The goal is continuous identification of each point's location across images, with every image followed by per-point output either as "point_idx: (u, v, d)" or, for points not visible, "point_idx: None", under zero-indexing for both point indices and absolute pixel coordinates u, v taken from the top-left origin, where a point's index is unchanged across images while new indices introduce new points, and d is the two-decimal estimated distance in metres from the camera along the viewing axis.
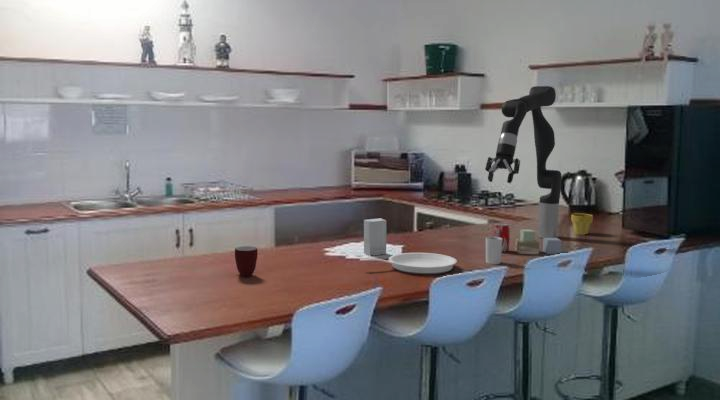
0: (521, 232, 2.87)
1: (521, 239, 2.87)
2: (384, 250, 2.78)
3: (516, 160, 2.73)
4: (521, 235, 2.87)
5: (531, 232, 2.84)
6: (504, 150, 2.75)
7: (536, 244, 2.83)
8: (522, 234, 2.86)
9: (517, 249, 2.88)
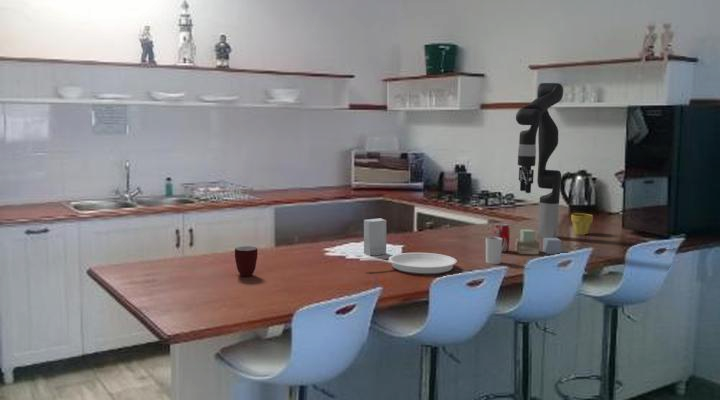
0: (521, 232, 2.87)
1: (521, 239, 2.87)
2: (384, 250, 2.78)
3: (527, 171, 2.83)
4: (521, 235, 2.87)
5: (531, 232, 2.84)
6: (519, 162, 2.87)
7: (536, 244, 2.83)
8: (522, 234, 2.86)
9: (517, 249, 2.88)
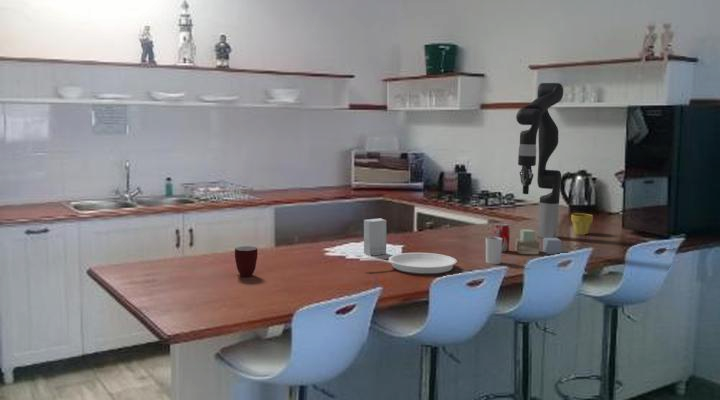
0: (521, 232, 2.87)
1: (521, 239, 2.87)
2: (384, 250, 2.78)
3: (527, 175, 2.84)
4: (521, 235, 2.87)
5: (531, 232, 2.84)
6: (519, 162, 2.87)
7: (536, 244, 2.83)
8: (522, 234, 2.86)
9: (517, 249, 2.88)
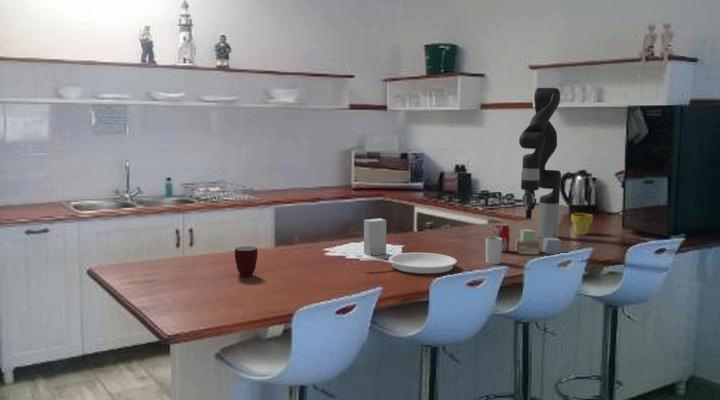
0: (521, 232, 2.87)
1: (521, 239, 2.87)
2: (384, 250, 2.78)
3: (530, 200, 2.79)
4: (521, 235, 2.87)
5: (531, 232, 2.84)
6: (522, 186, 2.83)
7: (536, 244, 2.83)
8: (522, 234, 2.86)
9: (517, 249, 2.88)
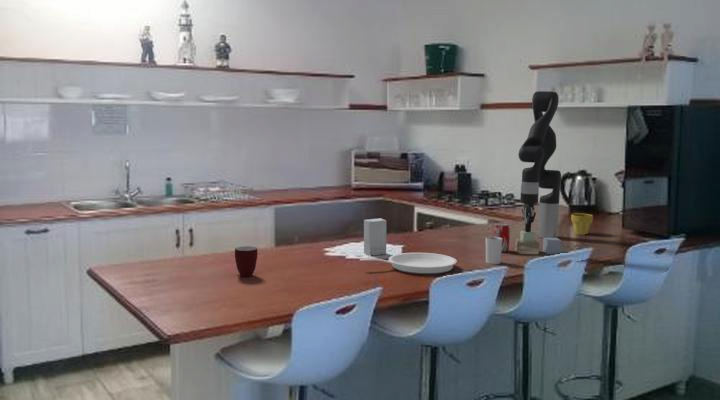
0: (521, 233, 2.87)
1: (521, 240, 2.87)
2: (384, 250, 2.78)
3: (529, 214, 2.80)
4: (521, 236, 2.87)
5: (531, 233, 2.84)
6: (522, 199, 2.83)
7: (536, 244, 2.83)
8: (522, 235, 2.86)
9: (517, 249, 2.88)
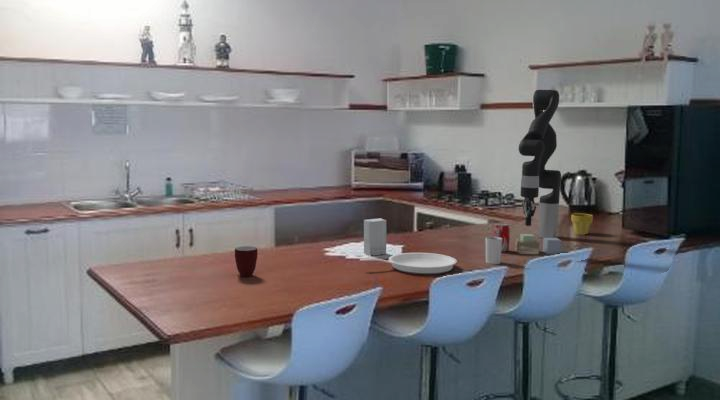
0: (521, 236, 2.88)
1: None
2: (384, 250, 2.78)
3: (529, 208, 2.80)
4: (521, 239, 2.88)
5: (531, 237, 2.84)
6: (522, 193, 2.83)
7: (536, 244, 2.83)
8: (522, 238, 2.86)
9: (517, 249, 2.88)
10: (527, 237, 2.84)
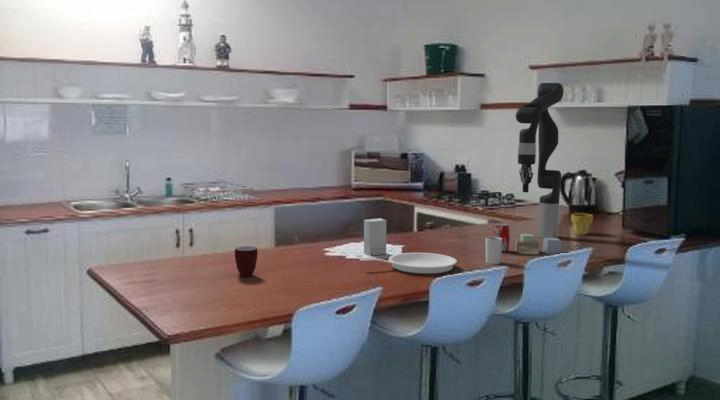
0: (521, 236, 2.88)
1: None
2: (384, 250, 2.78)
3: (527, 174, 2.85)
4: (521, 239, 2.88)
5: (531, 237, 2.84)
6: (519, 160, 2.88)
7: (536, 244, 2.83)
8: (522, 238, 2.86)
9: (517, 249, 2.88)
10: (527, 237, 2.84)
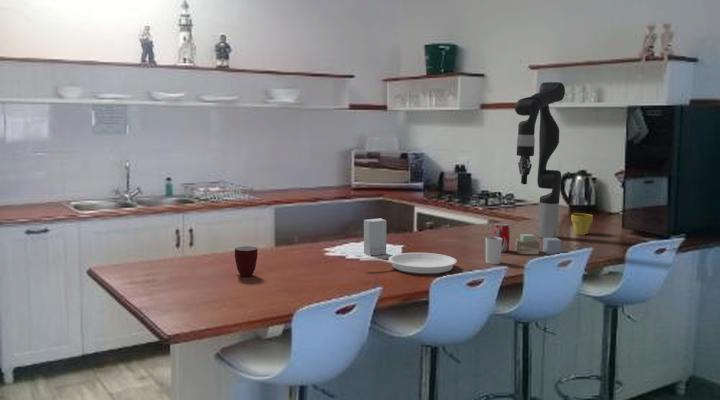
0: (521, 236, 2.88)
1: None
2: (384, 250, 2.78)
3: (525, 166, 2.87)
4: (521, 239, 2.88)
5: (531, 237, 2.84)
6: (518, 152, 2.90)
7: (536, 244, 2.83)
8: (522, 238, 2.86)
9: (517, 249, 2.88)
10: (527, 237, 2.84)
